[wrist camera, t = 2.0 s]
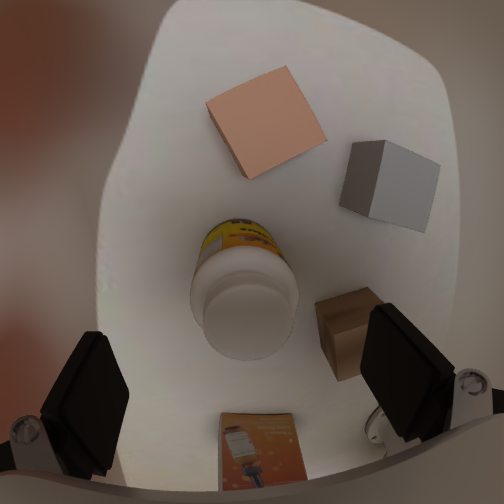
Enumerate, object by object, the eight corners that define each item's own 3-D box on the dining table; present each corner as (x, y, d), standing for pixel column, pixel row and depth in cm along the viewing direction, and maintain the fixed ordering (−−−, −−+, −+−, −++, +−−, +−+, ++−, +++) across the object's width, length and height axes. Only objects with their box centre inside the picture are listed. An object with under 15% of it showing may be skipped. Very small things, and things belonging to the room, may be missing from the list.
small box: (292, 412, 28) (313, 490, 18) (281, 439, 30) (297, 509, 20) (219, 411, 27) (222, 495, 17) (216, 438, 28) (218, 513, 19)
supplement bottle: (289, 252, 22) (336, 321, 12) (238, 299, 23) (248, 391, 13) (238, 200, 20) (249, 237, 11) (185, 253, 21) (157, 327, 12)
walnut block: (368, 331, 25) (392, 361, 21) (320, 347, 25) (337, 381, 21) (367, 286, 24) (394, 313, 19) (314, 302, 24) (334, 335, 19)
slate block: (389, 218, 22) (424, 233, 17) (338, 204, 21) (367, 217, 17) (402, 161, 21) (440, 165, 16) (352, 142, 20) (385, 140, 15)
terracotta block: (304, 145, 20) (327, 140, 15) (243, 176, 20) (249, 180, 15) (272, 86, 18) (285, 65, 13) (210, 116, 18) (205, 102, 14)
